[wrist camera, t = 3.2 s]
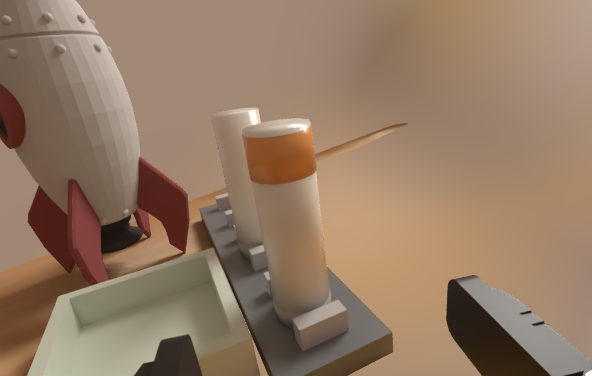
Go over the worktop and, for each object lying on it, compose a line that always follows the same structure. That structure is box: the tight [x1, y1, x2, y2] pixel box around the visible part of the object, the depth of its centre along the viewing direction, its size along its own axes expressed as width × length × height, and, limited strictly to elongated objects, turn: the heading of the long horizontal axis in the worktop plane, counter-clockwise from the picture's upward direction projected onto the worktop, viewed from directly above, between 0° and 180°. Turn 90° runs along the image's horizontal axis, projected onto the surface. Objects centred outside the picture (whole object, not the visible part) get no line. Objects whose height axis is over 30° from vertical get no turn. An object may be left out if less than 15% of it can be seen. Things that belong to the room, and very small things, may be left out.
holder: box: [199, 193, 393, 376], centre depth 30 cm, size 7×27×3 cm, turn 24°
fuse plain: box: [211, 108, 263, 260], centre depth 28 cm, size 4×4×12 cm
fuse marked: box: [242, 118, 332, 329], centre depth 20 cm, size 4×4×12 cm
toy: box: [0, 0, 189, 286], centre depth 28 cm, size 11×11×30 cm
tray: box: [27, 248, 260, 376], centre depth 21 cm, size 11×11×3 cm
